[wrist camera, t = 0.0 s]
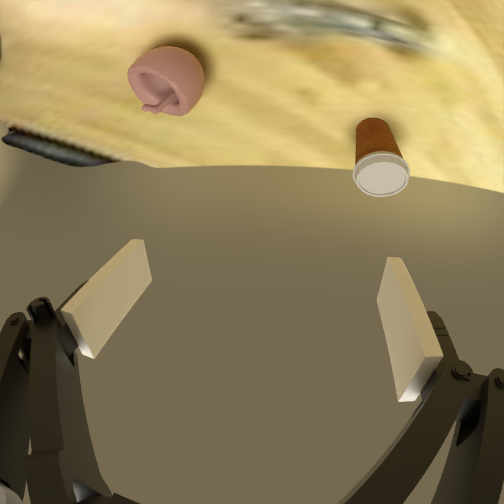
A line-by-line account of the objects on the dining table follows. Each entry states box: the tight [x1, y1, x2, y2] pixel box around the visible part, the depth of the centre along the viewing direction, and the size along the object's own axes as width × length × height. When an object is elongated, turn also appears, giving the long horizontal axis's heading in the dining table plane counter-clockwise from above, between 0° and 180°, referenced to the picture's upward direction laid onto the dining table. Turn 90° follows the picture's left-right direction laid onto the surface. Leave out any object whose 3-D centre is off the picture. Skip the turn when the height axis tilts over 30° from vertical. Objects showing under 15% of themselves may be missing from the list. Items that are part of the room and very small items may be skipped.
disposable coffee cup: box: [353, 118, 410, 197], centre depth 43 cm, size 10×10×12 cm
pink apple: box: [128, 46, 205, 116], centre depth 36 cm, size 12×12×12 cm
